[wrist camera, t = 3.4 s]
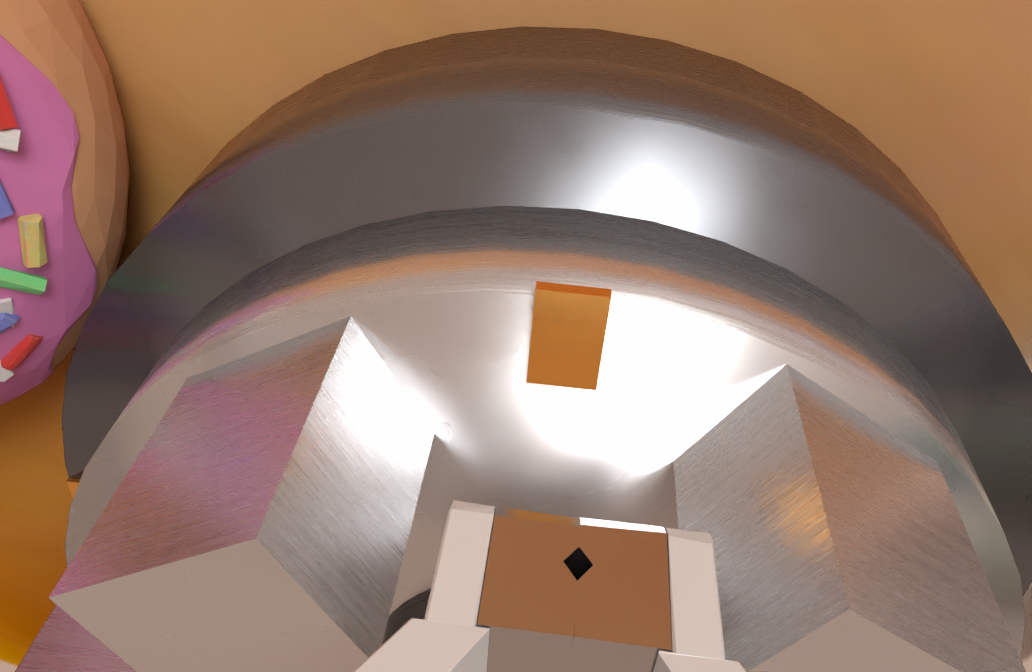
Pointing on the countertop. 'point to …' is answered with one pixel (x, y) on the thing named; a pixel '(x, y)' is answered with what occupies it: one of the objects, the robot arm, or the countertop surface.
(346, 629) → the toothed metal gear
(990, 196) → the countertop surface
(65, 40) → the donut
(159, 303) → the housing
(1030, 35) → the countertop surface
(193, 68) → the countertop surface
